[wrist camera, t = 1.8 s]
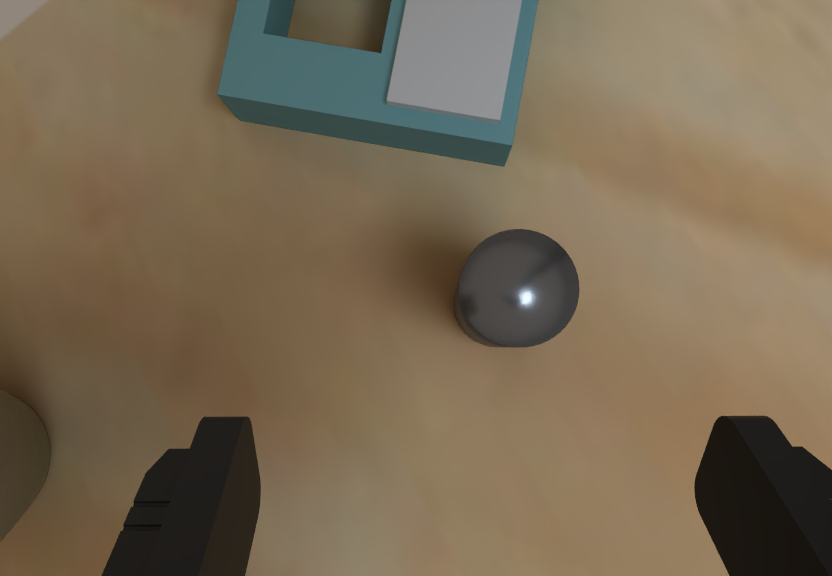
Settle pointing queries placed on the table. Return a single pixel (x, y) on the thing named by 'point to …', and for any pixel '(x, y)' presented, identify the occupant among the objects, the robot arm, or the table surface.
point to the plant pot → (20, 459)
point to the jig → (389, 76)
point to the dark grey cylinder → (516, 290)
